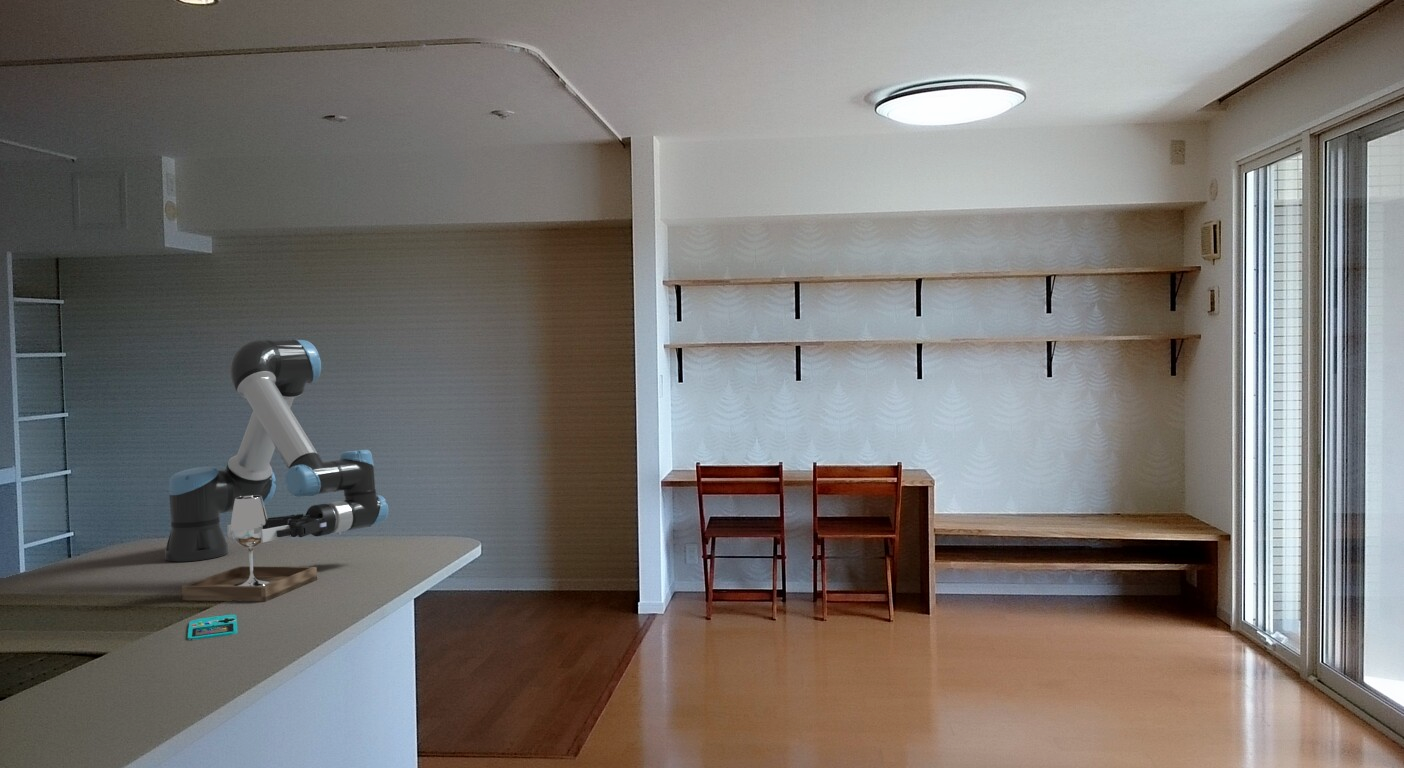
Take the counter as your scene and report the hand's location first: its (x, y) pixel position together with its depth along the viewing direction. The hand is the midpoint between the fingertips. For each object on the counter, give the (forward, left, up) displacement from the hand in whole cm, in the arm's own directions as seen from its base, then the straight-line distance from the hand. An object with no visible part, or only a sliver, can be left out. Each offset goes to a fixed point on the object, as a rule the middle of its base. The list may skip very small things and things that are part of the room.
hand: (244, 533), depth 220 cm
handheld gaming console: (+29, +12, -13) cm, 34 cm away
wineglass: (-1, 0, -12) cm, 12 cm away
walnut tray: (-1, +1, -13) cm, 13 cm away
